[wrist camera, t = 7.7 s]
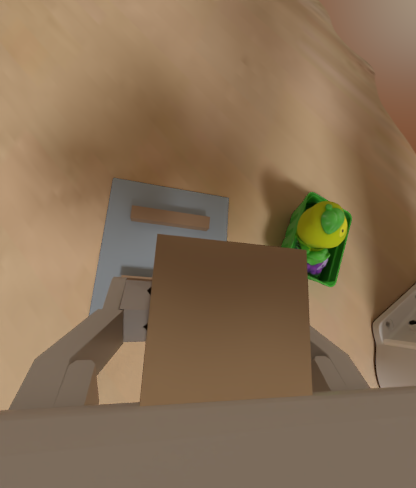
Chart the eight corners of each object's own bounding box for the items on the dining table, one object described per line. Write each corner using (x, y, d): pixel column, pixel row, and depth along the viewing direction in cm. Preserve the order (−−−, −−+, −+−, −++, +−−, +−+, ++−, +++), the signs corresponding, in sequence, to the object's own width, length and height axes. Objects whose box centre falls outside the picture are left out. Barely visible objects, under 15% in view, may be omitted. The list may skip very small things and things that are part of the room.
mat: (221, 326, 29) (225, 328, 27) (88, 321, 25) (84, 324, 24) (228, 198, 33) (232, 193, 31) (113, 178, 29) (111, 171, 28)
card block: (208, 333, 15) (313, 416, 5) (146, 333, 14) (137, 432, 4) (211, 273, 16) (306, 250, 6) (153, 269, 15) (157, 233, 5)
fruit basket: (308, 289, 33) (383, 289, 22) (258, 264, 32) (312, 252, 21) (326, 224, 36) (400, 197, 26) (281, 199, 35) (338, 160, 24)
